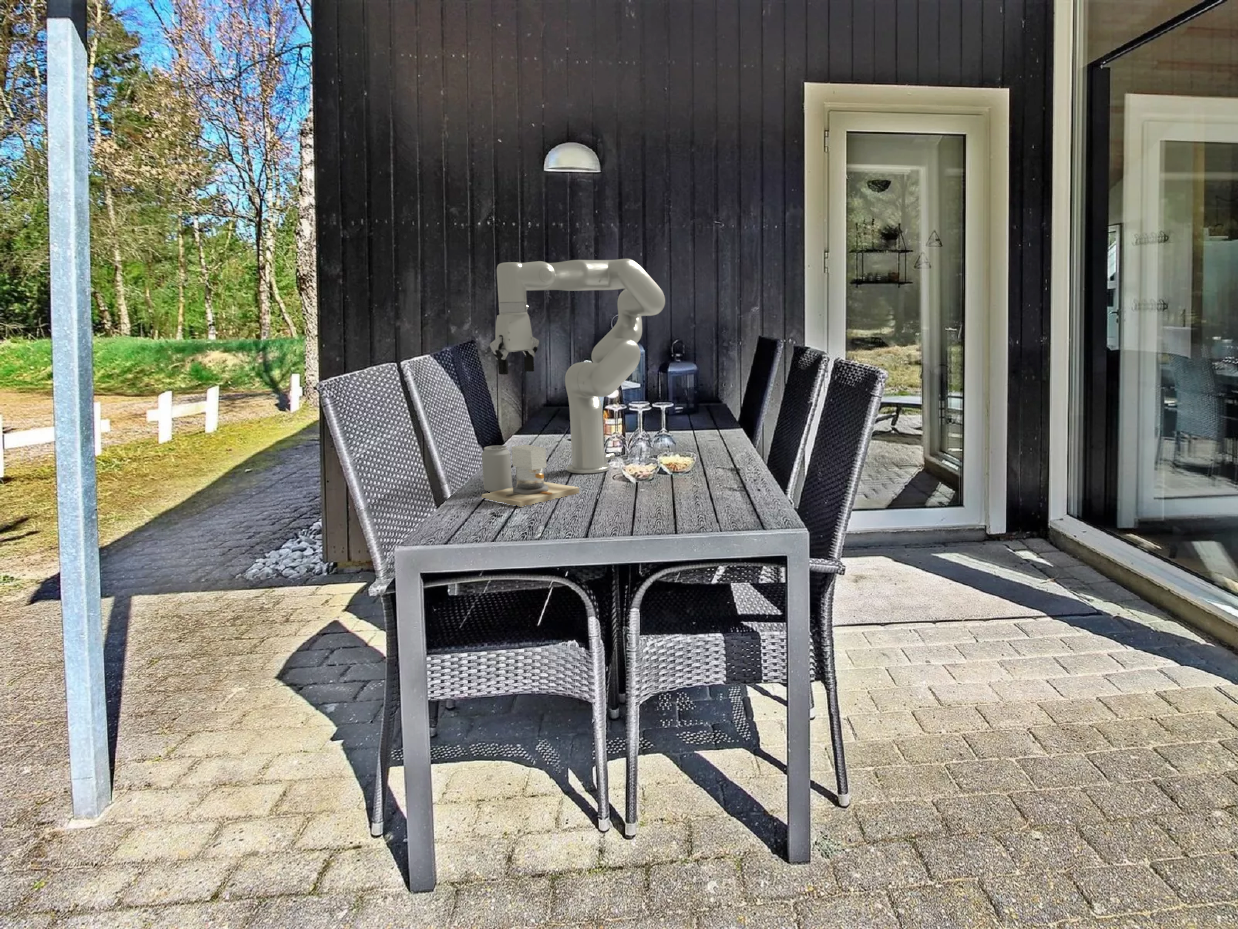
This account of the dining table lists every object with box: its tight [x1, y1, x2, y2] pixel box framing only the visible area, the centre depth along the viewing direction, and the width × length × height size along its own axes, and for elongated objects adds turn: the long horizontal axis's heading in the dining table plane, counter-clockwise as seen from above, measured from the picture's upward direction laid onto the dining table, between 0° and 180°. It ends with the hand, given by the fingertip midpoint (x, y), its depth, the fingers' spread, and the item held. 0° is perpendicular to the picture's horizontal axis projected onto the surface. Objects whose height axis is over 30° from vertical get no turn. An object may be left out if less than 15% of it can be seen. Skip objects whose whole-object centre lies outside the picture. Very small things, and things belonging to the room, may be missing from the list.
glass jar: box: [511, 444, 547, 489], centre depth 222 cm, size 10×7×10 cm
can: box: [481, 445, 513, 493], centre depth 231 cm, size 8×8×12 cm
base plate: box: [481, 481, 580, 508], centre depth 224 cm, size 20×15×2 cm
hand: (516, 372), depth 238 cm, fingers open, 9 cm apart
